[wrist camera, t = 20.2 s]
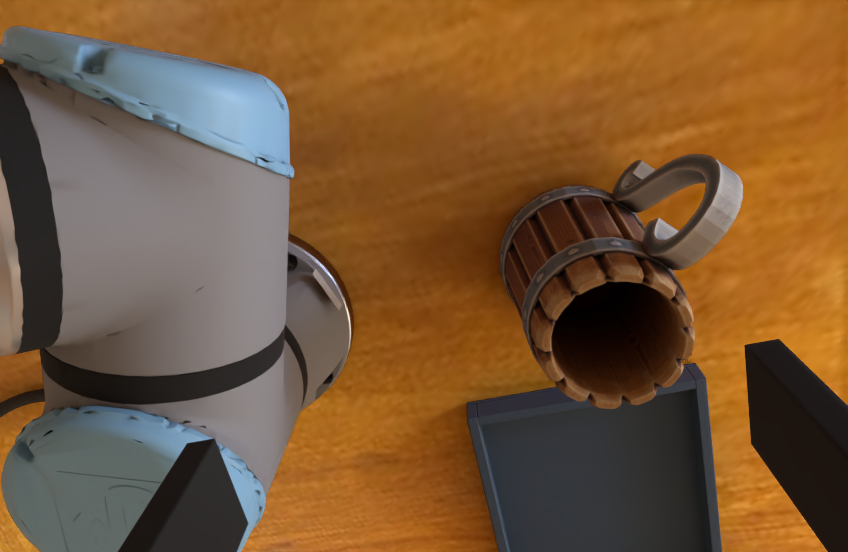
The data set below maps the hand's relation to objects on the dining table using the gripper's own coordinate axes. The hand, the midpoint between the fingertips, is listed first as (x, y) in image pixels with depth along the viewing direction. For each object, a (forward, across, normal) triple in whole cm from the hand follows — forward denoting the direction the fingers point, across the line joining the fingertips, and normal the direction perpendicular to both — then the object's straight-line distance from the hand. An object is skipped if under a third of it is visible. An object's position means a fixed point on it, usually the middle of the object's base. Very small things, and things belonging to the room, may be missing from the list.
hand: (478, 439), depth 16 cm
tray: (+33, +6, -30) cm, 44 cm away
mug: (+33, +8, -6) cm, 34 cm away
